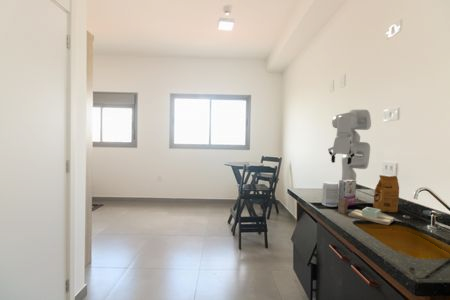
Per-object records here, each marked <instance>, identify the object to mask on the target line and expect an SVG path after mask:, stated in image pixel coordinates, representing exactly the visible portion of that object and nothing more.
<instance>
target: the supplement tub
mask: <svg viewBox="0 0 450 300" xmlns="http://www.w3.org/2000/svg"><path fill="white" fill-rule="evenodd" d="M338 194H339V182H335V181H323V182H322V193H321V205H323V206H324V207H329V208H335V207H338Z"/></svg>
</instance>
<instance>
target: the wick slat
mask: <svg viewBox="0 0 450 300" xmlns="http://www.w3.org/2000/svg"><path fill="white" fill-rule="evenodd" d="M347 205H348V199H346V198H340V199H339V202H338V205H337V207H338V208H337V213H338V214H343V215H345V214H347V213H348V206H347Z"/></svg>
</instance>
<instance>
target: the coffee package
mask: <svg viewBox="0 0 450 300" xmlns="http://www.w3.org/2000/svg"><path fill="white" fill-rule="evenodd" d="M373 193H374V194H373V202H372V208H375V209H380V210H381V213H385V212H386V213H398V210H399V199H400V184H399V179H398V175H391V176H387V175H381V174H380V175H379V180H378V182H377V184H376V186H375V189H374V192H373Z"/></svg>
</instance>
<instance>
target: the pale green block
mask: <svg viewBox="0 0 450 300" xmlns="http://www.w3.org/2000/svg"><path fill="white" fill-rule="evenodd" d="M381 213H382V212H381V210H380V209H375V208H374V207H369V206H366V207H365V208H362V216H367V217H371V218H377V217H379V216H380V214H381Z"/></svg>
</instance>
